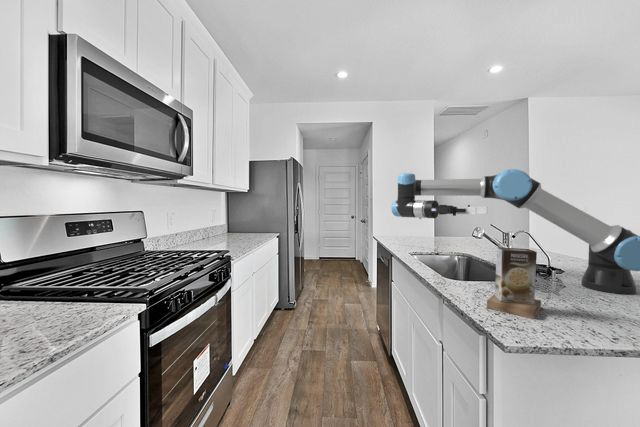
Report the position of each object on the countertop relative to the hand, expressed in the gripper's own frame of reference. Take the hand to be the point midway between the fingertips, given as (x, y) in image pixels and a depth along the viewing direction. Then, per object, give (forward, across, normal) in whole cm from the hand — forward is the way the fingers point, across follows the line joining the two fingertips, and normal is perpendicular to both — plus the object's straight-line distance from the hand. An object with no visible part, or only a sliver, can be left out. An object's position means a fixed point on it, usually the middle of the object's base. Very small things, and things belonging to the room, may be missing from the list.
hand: (481, 210), depth 110 cm
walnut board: (+14, +14, -30) cm, 36 cm away
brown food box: (+14, +14, -28) cm, 34 cm away
